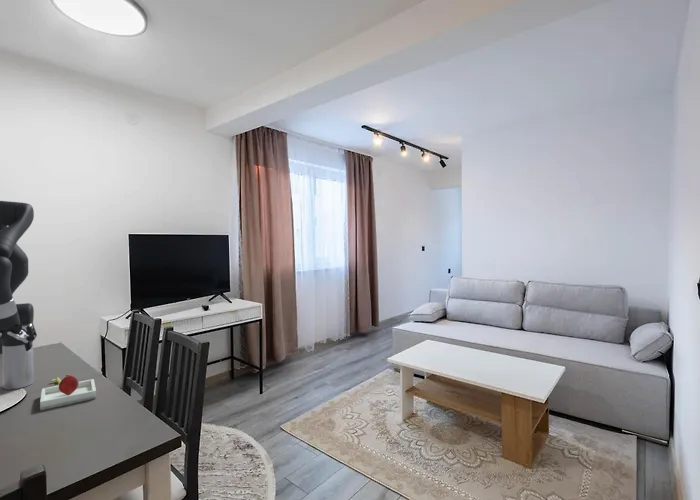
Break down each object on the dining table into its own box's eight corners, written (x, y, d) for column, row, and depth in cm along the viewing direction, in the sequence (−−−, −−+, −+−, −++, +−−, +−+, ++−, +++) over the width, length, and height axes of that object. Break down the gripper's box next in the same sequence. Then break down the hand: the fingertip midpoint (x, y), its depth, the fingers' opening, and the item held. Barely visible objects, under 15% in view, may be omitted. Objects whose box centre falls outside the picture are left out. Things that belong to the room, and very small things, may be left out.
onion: (66, 391, 139) (66, 371, 138) (81, 391, 139) (81, 371, 139) (55, 398, 133) (54, 377, 133) (71, 398, 133) (71, 376, 133)
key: (58, 381, 152) (58, 376, 151) (76, 386, 147) (76, 381, 147) (38, 388, 145) (38, 382, 145) (56, 393, 140) (56, 388, 140)
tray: (42, 396, 136) (42, 388, 136) (93, 386, 146) (93, 379, 146) (40, 410, 125) (40, 402, 125) (96, 398, 135) (96, 390, 135)
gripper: (32, 304, 126) (42, 342, 132) (-21, 308, 120) (-9, 348, 127) (24, 315, 120) (34, 355, 126) (-33, 321, 114) (-19, 362, 120)
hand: (13, 351), depth 126 cm, fingers open, 8 cm apart
